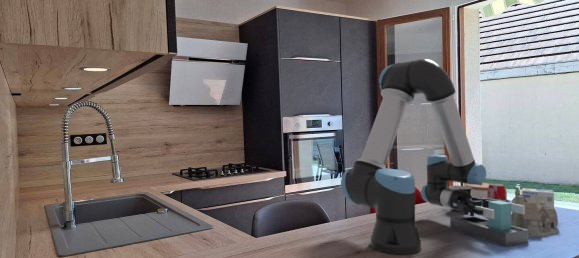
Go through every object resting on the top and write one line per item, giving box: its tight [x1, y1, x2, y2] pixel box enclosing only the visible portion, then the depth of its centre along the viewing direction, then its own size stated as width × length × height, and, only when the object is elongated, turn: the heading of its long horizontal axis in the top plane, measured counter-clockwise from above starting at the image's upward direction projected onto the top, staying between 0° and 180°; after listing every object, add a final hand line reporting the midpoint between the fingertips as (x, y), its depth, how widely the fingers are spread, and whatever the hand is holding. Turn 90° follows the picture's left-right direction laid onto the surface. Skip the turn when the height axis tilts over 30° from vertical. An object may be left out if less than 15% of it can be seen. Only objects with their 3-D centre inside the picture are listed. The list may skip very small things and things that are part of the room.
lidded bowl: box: [465, 182, 490, 206], centre depth 173 cm, size 13×13×11 cm
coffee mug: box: [448, 185, 471, 213], centre depth 164 cm, size 12×9×10 cm
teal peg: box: [488, 201, 512, 231], centre depth 123 cm, size 5×5×12 cm
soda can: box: [487, 182, 508, 200], centre depth 157 cm, size 7×7×12 cm
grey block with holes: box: [449, 214, 529, 248], centre depth 128 cm, size 22×10×4 cm, turn 22°
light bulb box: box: [521, 188, 555, 209], centre depth 150 cm, size 11×7×11 cm, turn 58°
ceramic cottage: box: [511, 186, 560, 238], centre depth 132 cm, size 16×16×15 cm
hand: (509, 212), depth 120 cm, fingers open, 13 cm apart
